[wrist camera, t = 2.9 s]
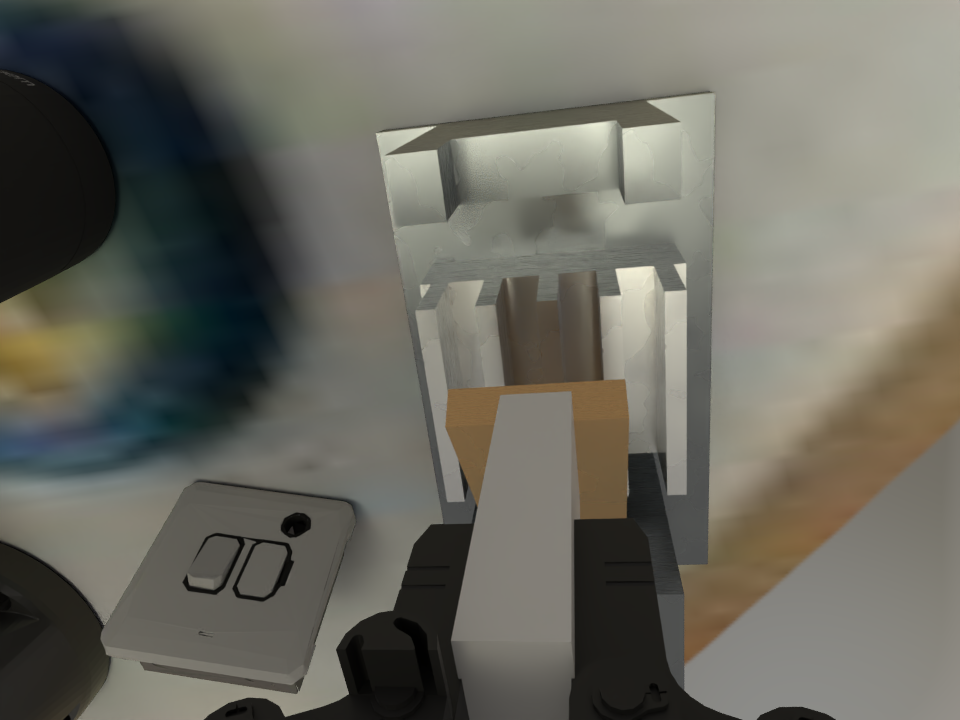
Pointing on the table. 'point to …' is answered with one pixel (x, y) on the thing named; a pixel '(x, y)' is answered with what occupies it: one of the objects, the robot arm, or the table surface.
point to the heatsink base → (575, 211)
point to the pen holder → (47, 185)
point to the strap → (595, 436)
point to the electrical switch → (234, 587)
